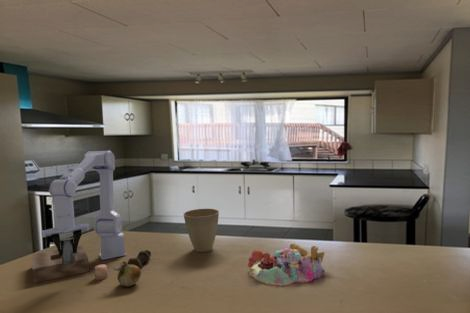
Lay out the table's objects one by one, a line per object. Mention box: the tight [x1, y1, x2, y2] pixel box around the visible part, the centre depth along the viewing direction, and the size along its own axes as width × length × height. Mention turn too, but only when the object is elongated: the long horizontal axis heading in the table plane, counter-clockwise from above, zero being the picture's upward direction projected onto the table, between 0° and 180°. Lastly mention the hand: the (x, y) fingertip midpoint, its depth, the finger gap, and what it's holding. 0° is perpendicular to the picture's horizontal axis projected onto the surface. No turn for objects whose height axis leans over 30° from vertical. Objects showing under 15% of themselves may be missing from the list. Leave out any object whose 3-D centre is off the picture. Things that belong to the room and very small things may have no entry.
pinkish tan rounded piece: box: [94, 263, 109, 281], centre depth 127 cm, size 4×4×4 cm
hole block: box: [32, 245, 90, 284], centre depth 137 cm, size 18×18×5 cm
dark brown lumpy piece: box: [127, 249, 152, 270], centre depth 138 cm, size 6×5×15 cm
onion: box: [112, 261, 142, 288], centre depth 120 cm, size 8×8×8 cm
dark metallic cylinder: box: [60, 237, 75, 265], centre depth 122 cm, size 4×4×8 cm
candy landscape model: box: [247, 242, 325, 287], centre depth 125 cm, size 25×24×9 cm
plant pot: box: [183, 208, 220, 253], centre depth 152 cm, size 15×15×16 cm
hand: (68, 253), depth 122 cm, fingers closed on dark metallic cylinder, 4 cm apart
